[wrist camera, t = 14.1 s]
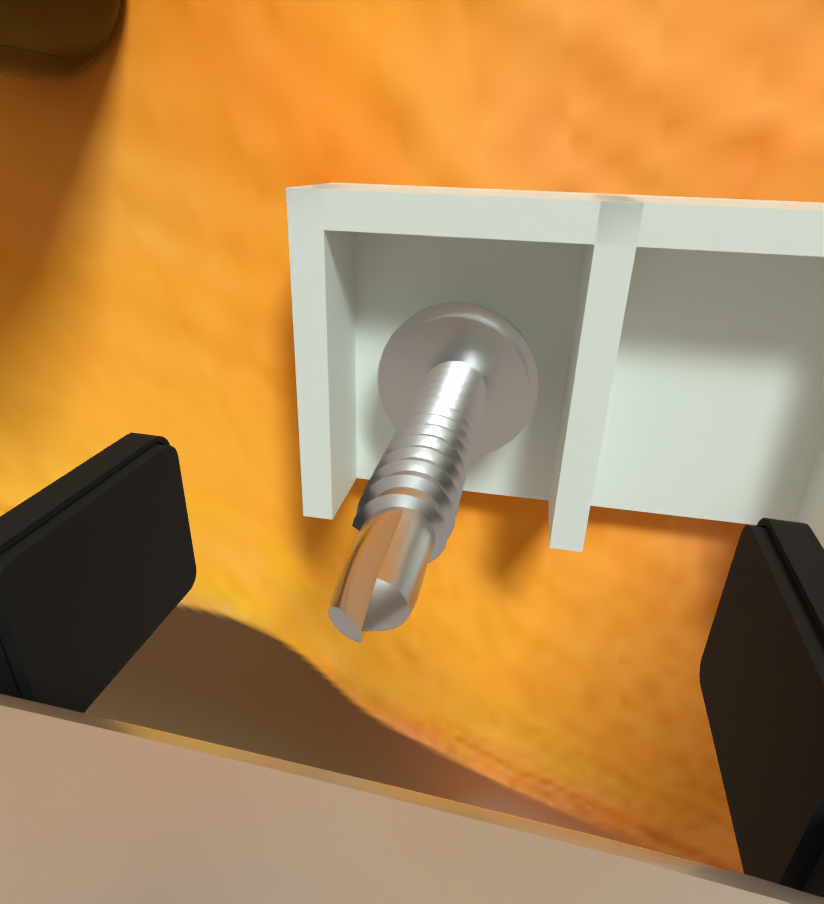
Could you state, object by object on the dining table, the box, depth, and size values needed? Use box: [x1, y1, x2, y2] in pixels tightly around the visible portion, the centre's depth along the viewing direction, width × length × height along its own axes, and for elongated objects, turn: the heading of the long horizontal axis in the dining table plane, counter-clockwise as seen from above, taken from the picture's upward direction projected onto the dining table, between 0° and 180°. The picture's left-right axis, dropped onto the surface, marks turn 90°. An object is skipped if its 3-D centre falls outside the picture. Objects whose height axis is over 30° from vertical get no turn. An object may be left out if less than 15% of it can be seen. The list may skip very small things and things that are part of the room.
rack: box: [286, 183, 824, 552], centre depth 19 cm, size 17×10×4 cm, turn 87°
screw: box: [329, 302, 539, 643], centre depth 15 cm, size 13×5×5 cm
